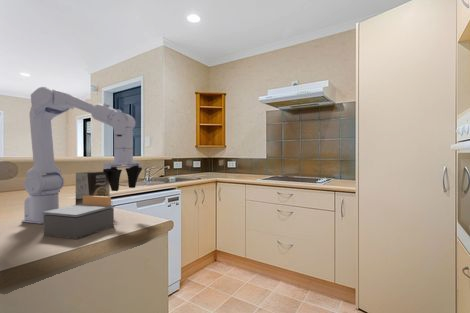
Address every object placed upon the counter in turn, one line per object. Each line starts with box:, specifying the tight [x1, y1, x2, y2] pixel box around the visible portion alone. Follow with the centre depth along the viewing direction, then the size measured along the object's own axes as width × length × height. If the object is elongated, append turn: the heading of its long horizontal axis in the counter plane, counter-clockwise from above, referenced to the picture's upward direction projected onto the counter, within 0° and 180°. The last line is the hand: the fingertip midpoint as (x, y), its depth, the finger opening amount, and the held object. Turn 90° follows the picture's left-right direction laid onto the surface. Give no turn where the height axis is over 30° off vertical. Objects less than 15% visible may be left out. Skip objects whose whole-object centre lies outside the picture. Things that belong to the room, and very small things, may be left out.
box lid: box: [42, 195, 115, 217], centre depth 67 cm, size 12×12×3 cm
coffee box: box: [75, 170, 111, 205], centre depth 82 cm, size 9×6×16 cm
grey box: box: [43, 207, 115, 240], centre depth 67 cm, size 12×12×6 cm
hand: (123, 189), depth 78 cm, fingers open, 7 cm apart
